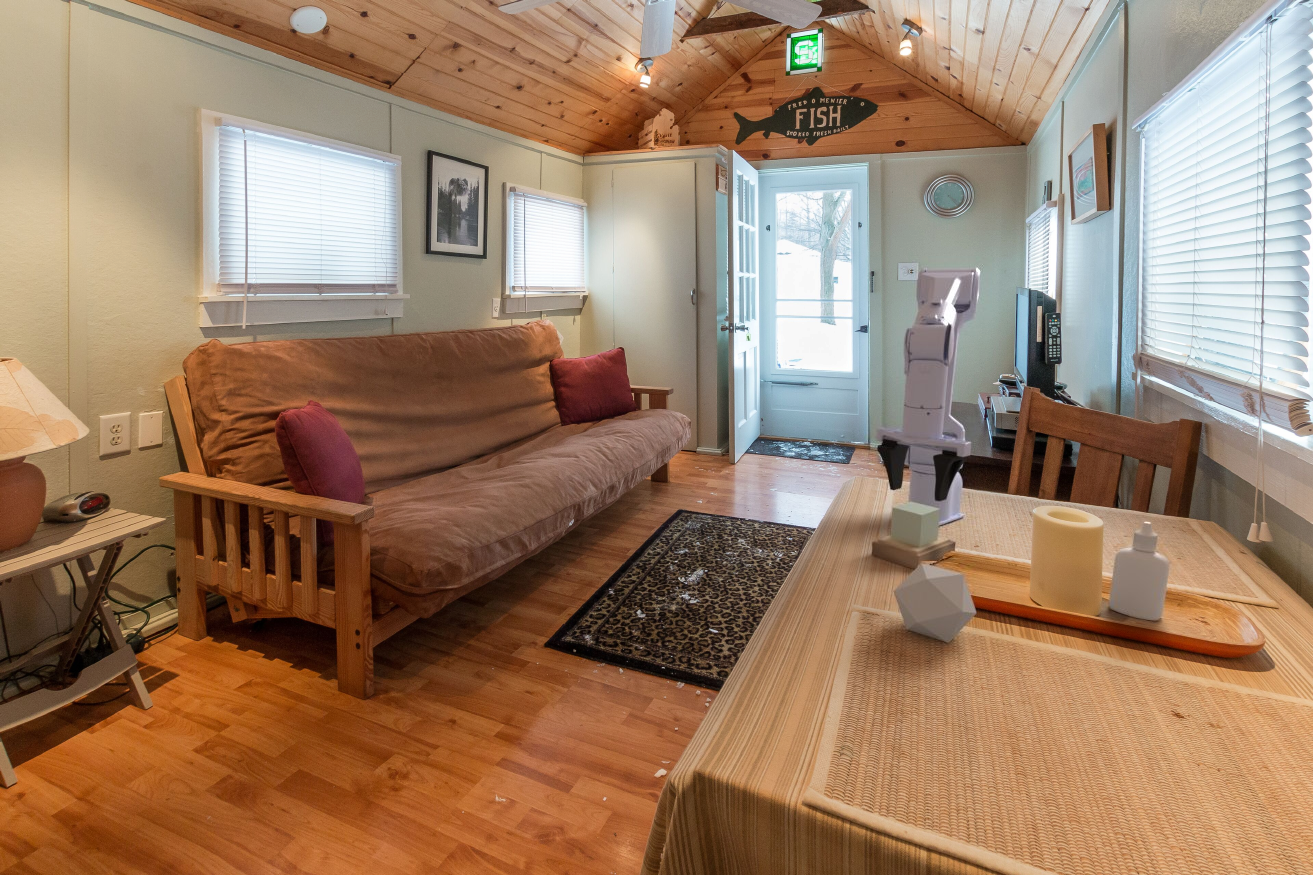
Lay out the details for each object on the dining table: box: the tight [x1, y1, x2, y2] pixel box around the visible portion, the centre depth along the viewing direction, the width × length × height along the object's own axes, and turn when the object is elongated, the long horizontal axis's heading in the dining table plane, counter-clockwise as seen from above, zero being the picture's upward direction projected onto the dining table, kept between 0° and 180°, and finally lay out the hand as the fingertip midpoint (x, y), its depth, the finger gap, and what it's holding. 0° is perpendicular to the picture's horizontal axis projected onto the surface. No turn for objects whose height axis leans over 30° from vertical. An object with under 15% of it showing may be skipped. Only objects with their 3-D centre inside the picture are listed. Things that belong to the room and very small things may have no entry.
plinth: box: [871, 534, 956, 570], centre depth 111 cm, size 10×8×3 cm
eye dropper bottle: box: [1108, 521, 1171, 622], centre depth 90 cm, size 4×6×12 cm
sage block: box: [890, 501, 940, 547], centre depth 110 cm, size 5×5×5 cm
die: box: [893, 563, 977, 644], centre depth 85 cm, size 8×9×10 cm
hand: (917, 494), depth 109 cm, fingers open, 7 cm apart
